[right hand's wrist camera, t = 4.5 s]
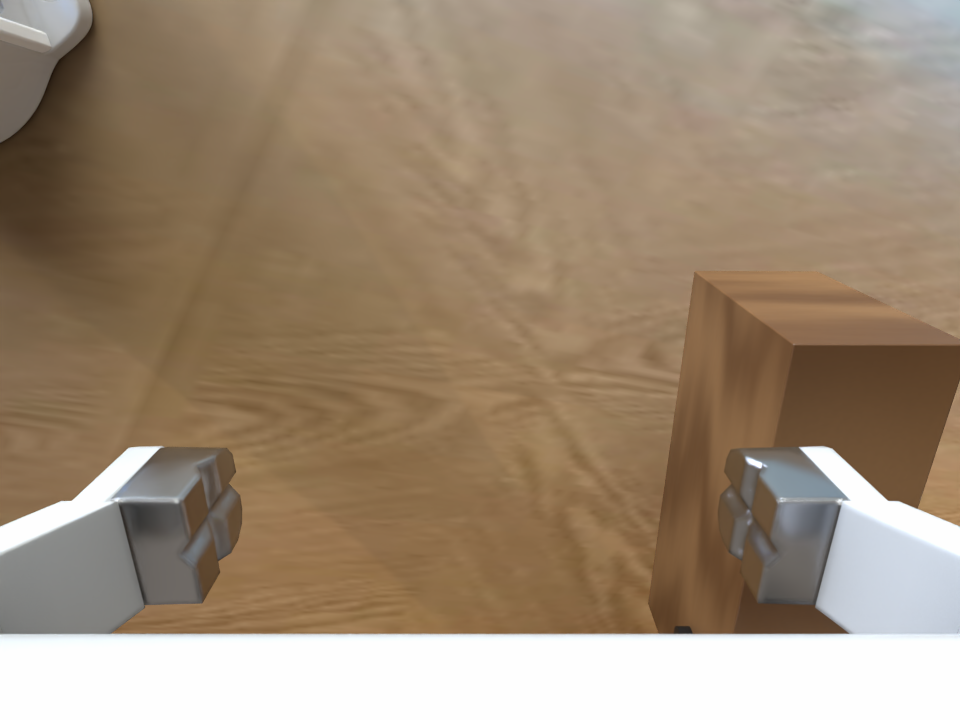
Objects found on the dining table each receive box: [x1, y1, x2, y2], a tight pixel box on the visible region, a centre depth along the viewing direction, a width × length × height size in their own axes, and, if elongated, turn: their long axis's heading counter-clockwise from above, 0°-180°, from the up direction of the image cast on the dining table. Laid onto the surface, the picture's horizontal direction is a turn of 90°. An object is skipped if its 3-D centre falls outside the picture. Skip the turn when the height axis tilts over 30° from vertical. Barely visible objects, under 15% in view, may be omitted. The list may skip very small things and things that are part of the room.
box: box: [648, 271, 960, 634], centre depth 30 cm, size 22×6×10 cm, turn 0°
